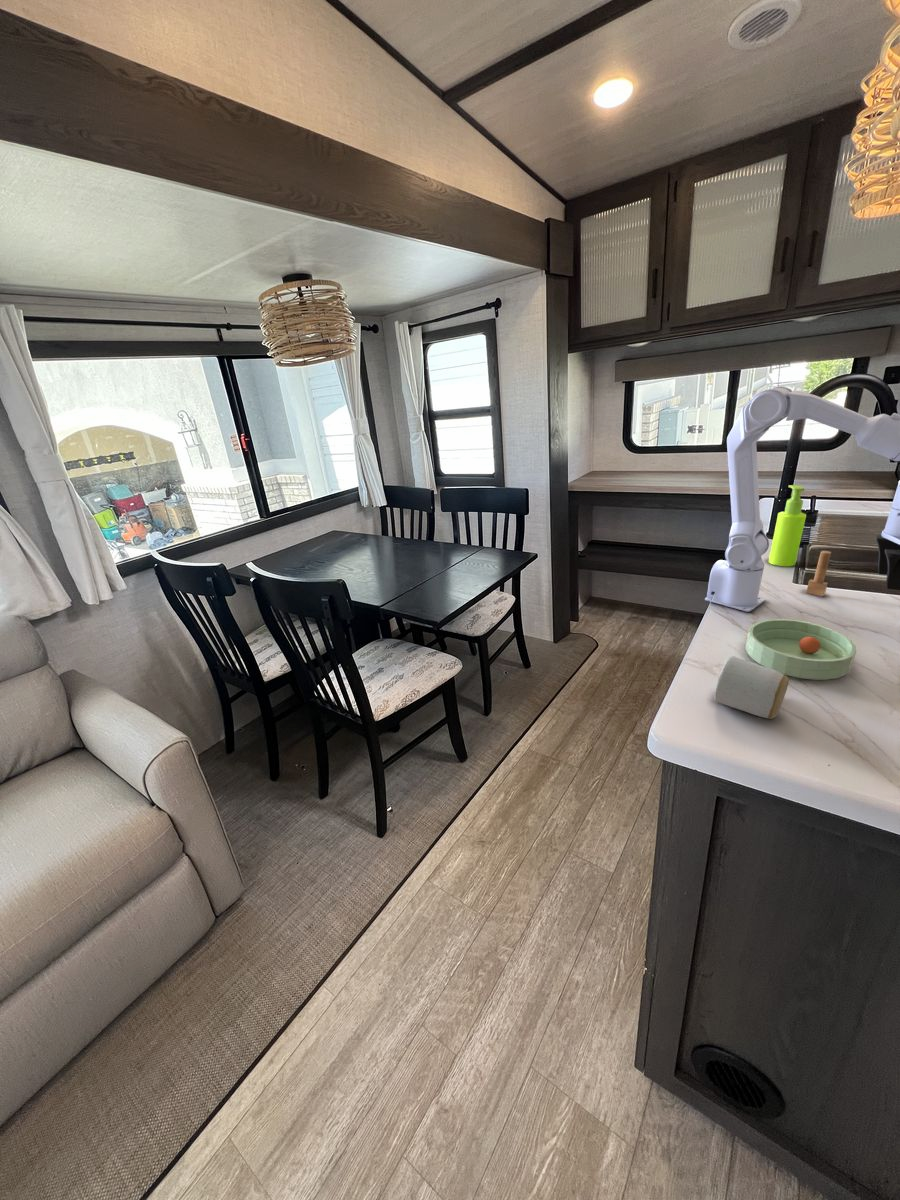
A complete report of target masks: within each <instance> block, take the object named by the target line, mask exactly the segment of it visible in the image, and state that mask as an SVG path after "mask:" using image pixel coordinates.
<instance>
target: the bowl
mask: <svg viewBox="0 0 900 1200" xmlns="http://www.w3.org/2000/svg"><path fill="white" fill-rule="evenodd" d="M805 637H813V638H816V639H817V640H818V641H819V643H820V649H819V650H818V651H817V652H816V653H812V654H808V653H805V652H803V651H802V650H801V649H800V647H799V642H800V641H801V639H803V638H805ZM745 651H746V654H747V655H748V656H749V657H750V658H751V659H752V660H753V661H755V662H756V663H757V664H758V665H761V666H763V667H767V668H770V669H773V670H775V671H778V672H780V673H782V674H784V675H786V676H787V677H788V676H789V677H791V678H797V679H803V680H817V681H819V680H820V681H821V680H833V679H834V680H835V679H839V678H842V677H844V676H846V675H848V674H849V672H850V671H851V670H852V667H853V664H854V661H855V657H856V654H857V646H856V644H855V643H854V642H853V640H851V639H850V638H849V637H848V636H846V635H845V634H843V633H841V632H839V631H837V630H836V629H833V628H830V627H827V626H824V625H821V624H818V623H815V622H809V621H806V620H805V621H804V620H798V619H788V618H772V619H764V620H760V621H757V622H754V623H752V625H751V626H749V629H748V632H747V637H746V642H745Z"/></svg>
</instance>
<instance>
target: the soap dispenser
mask: <svg viewBox="0 0 900 1200" xmlns="http://www.w3.org/2000/svg"><path fill="white" fill-rule="evenodd" d="M788 488H790V489H792V494H791V498H788V499H787V500H786V503H785V507H784V511H780V512H778V513H777V516H776V517H777V518H776V523H775V527H774V531H773V536H772V542H771V546H770V550H769V551H770V552H769V556H768V563H769V564H771V565H773V566H778V567H793V566H795V565H796V562H797V558H798V553H799V550H800V549H799V548H800V545H801V540H802V537H803V532H804V527H805V522H806V520H807V519H806V518H807V514H806V513H804V512H802V509H803V506H804V505H803V504H804V500H803V499H802V498H801V495H802V492H804V491H805V488H804V487H803V486H802V485H801V484H791V485H789V484H788Z"/></svg>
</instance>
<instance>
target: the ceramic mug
mask: <svg viewBox="0 0 900 1200" xmlns="http://www.w3.org/2000/svg"><path fill="white" fill-rule="evenodd" d="M789 682H790V679H789V677H788V675H784V674H782V673H780V672H778V671H775V670H773V669H770V668H767V667H764V666H763V665H761V664H759V663H755V662H752V661H750V660H747V659H743V658H741V657H738V656H736V655H735V656H734V655H730V656H729V657H728V658H727V659H726V661H725V663H724V664H723V665H722V668H721V671H720V674H719V676H718V678H717V682H716V685H715V690H714V694H713V695H714V696H713V699H714V701H715V702H716V703H719V704H721V705H725V706H728V707H730V708H733V709H736V710H739V711H743V712H746V713H748V714H751V715H754V716H757V717H759V718H765V719H770V720H772V719H775V718H776V717H777V716H778V714H779V712H780V710H781V706H782V705H783V702H784V699H785V697H786V693H787V690H788V686H789V684H790V683H789Z"/></svg>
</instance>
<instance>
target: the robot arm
mask: <svg viewBox="0 0 900 1200" xmlns="http://www.w3.org/2000/svg"><path fill="white" fill-rule="evenodd" d="M784 419H785V421H787V422H788V421H789V422H790V421H797V420H805V419H807V420H812V421H814V422H816V423H819V424H822V425H825V426H828V427H831V428H833V429H836V430H839V431H841V432H845V433H848V434H850V435H852V436H854V437H855V441H856V446H857V447H859V448H861V449H864V450H867V451H868V452H872V453H874V454H877V455H879V456H881V457H884V458H886V459H889V460H891V461H894V462H900V414H898V413H896V412H893V413H892V414H891V415H889V414H886V413H880V414H877V415H874V416H872V417H868V416H866V415H864V414H861V413H858V412H857V411H854V410H852V409H850V408H847V407H844V406H842V405H840V404H837V403H835V402H834V401H833V402H832V401H830V400H828V399H826V398H823V397H821V396H819V395H815V394H812V393H810V392H806V391H802V390H801V391H800V390H796V389H795V390H792V389H791V388H789V387H786V386H775V387H773V388H768V389H764V390H761V391H759V392H758V393H756V394H755V395H753V396H752V398H750V399H749V400H748V401H747V402H746V403H745V404H744V405H743V406H742V407H741V410H740V413H739V415H738V417H737V418H736V420H735V422H734V424H733V426H732V428H731V430H730V431H729V433H728V435H727V437H726V448H727V451H726V452H727V465H728V479H729V480H728V481H729V494H730V497H729V498H730V507H731V508H730V511H731V527H730V531H729V535H728V545H727V547H726V549H725V552H724V557H725V559H724V560H723V559H719V560H717V561H716V562H715V563H714V564H713V565H712V568H711V571H710V574H709V580H708V585H707V593H706V597H705V598H704V601H706V602H710V603H713V604H717V605H720V606H723V607H728V608H731V609H736V610H739V611H743V612H746V613H750V612H752V611H753V610H754V609H756V608H758V606H760V605H761V604H763V603H764V602H765V598H762V597H759V593H760V589H761V584H762V579H763V574H764V569H765V562H764V560H763V558H762V557H763V555H764V554H766V552H767V551H768V550H769V547H770V540H769V537H768V536H767V535H766V533H765V530H764V523H763V522H762V519H761V513H760V512H761V511H760V489H759V472H758V471H759V469H758V451H757V443H758V441H759V440H760V439H761V438H762V437H763V436H764V435H765V434H766V433H767V432H768V431H769V430H770V428H771V427H773V426H775V425H776V424H778V423H780V422H781V421H782V420H784ZM874 538H875V541H876V544H877V551H878V559H877V560H878V564H877V571H878V572H877V573H878V575H882V576H883V575H884V576H886V581H885V586H886V587H885V588H886V589H887V590H894V591H900V480H899V481H898V484H897V487H896V491H895V494H894V497H893V500H892V504H891V507H890V509H889V514H888V516H887V520H886V523H885V526H884V529H882V531H881V534H878V535H875V537H874ZM714 595H715V597H714ZM713 597H714V599H713ZM712 599H713V601H712Z"/></svg>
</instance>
